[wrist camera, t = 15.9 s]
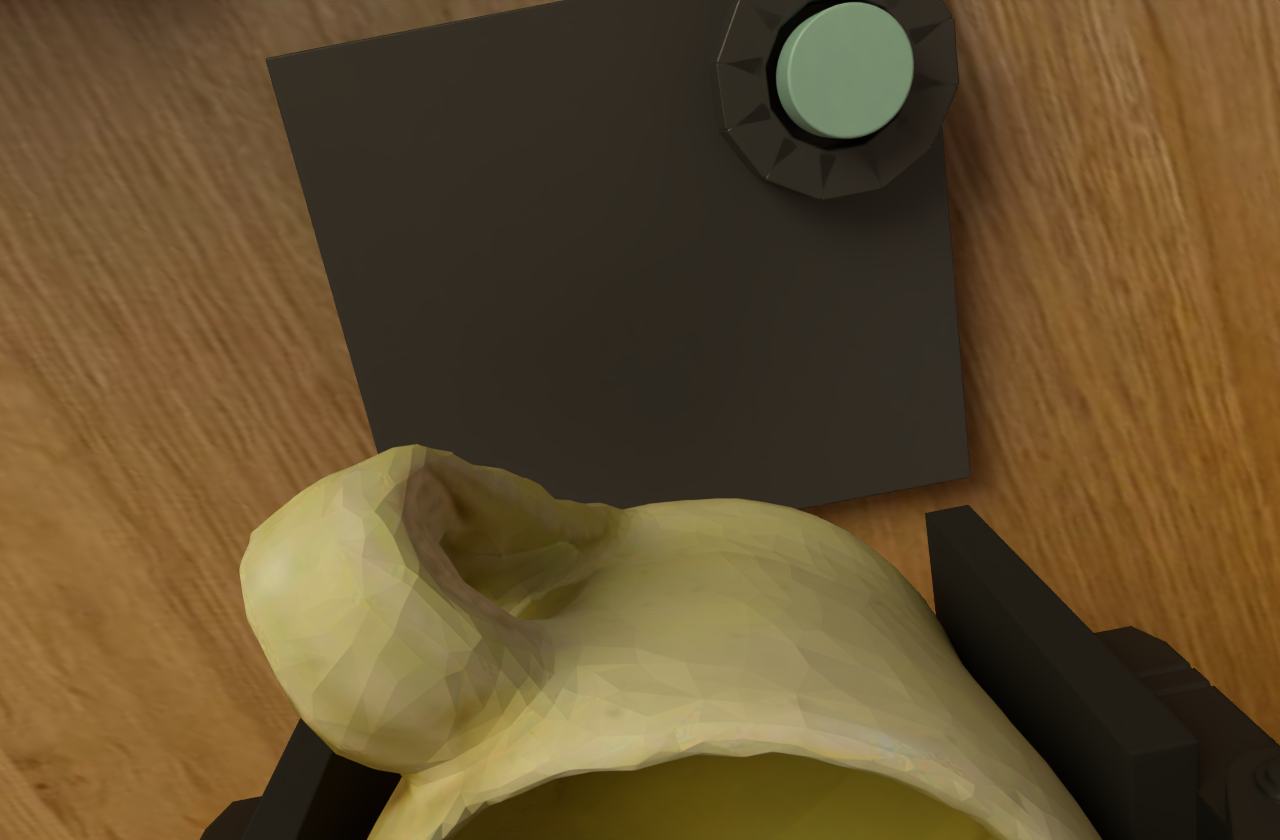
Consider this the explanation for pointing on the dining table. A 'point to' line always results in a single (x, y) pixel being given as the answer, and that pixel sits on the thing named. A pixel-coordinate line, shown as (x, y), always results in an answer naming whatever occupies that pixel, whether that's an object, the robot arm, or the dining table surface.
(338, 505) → the mug
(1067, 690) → the robot arm
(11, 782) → the dining table surface
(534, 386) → the scale
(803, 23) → the power button
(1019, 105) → the dining table surface
